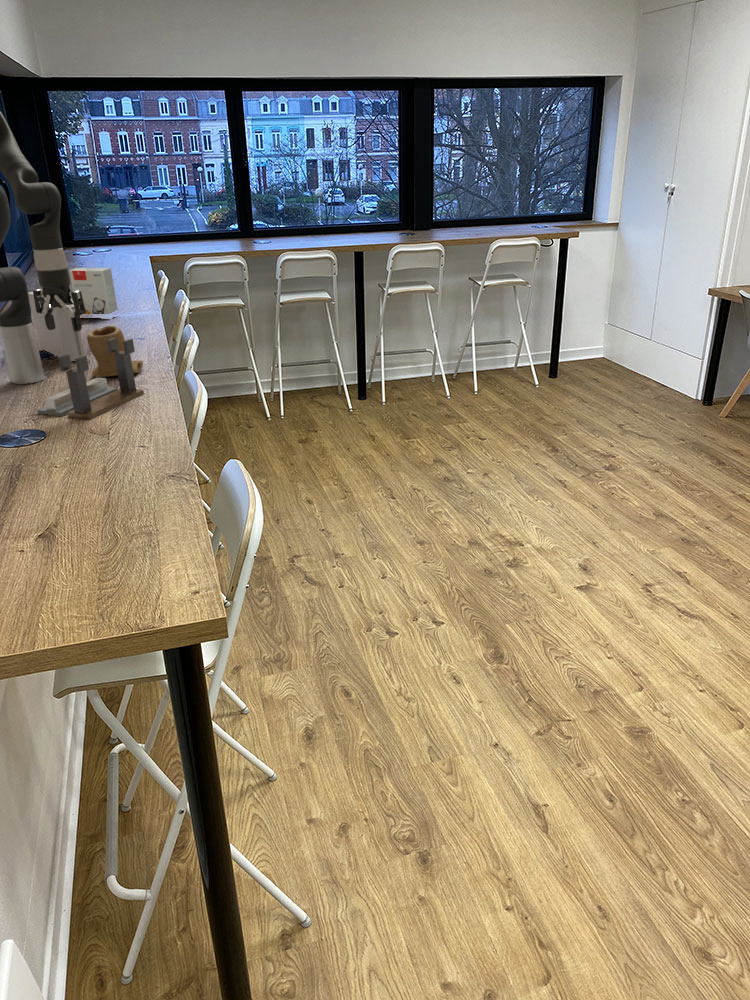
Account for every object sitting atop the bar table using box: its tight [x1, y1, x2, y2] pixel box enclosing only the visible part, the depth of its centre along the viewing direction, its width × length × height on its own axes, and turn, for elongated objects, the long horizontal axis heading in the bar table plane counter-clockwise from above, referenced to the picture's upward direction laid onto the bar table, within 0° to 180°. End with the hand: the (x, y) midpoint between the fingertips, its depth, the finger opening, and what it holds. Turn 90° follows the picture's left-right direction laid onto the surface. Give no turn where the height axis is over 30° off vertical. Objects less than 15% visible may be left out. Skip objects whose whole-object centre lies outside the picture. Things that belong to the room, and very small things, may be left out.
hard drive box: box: [68, 267, 119, 314], centre depth 312 cm, size 16×8×20 cm, turn 81°
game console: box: [28, 291, 86, 361], centre depth 254 cm, size 6×27×20 cm, turn 41°
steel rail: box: [44, 377, 109, 411], centre depth 207 cm, size 3×21×3 cm, turn 160°
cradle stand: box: [57, 338, 145, 420], centre depth 201 cm, size 7×23×16 cm, turn 160°
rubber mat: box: [36, 386, 118, 417], centre depth 207 cm, size 8×23×1 cm, turn 160°
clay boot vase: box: [86, 325, 144, 378], centre depth 229 cm, size 15×12×15 cm
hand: (64, 330), depth 199 cm, fingers open, 8 cm apart
